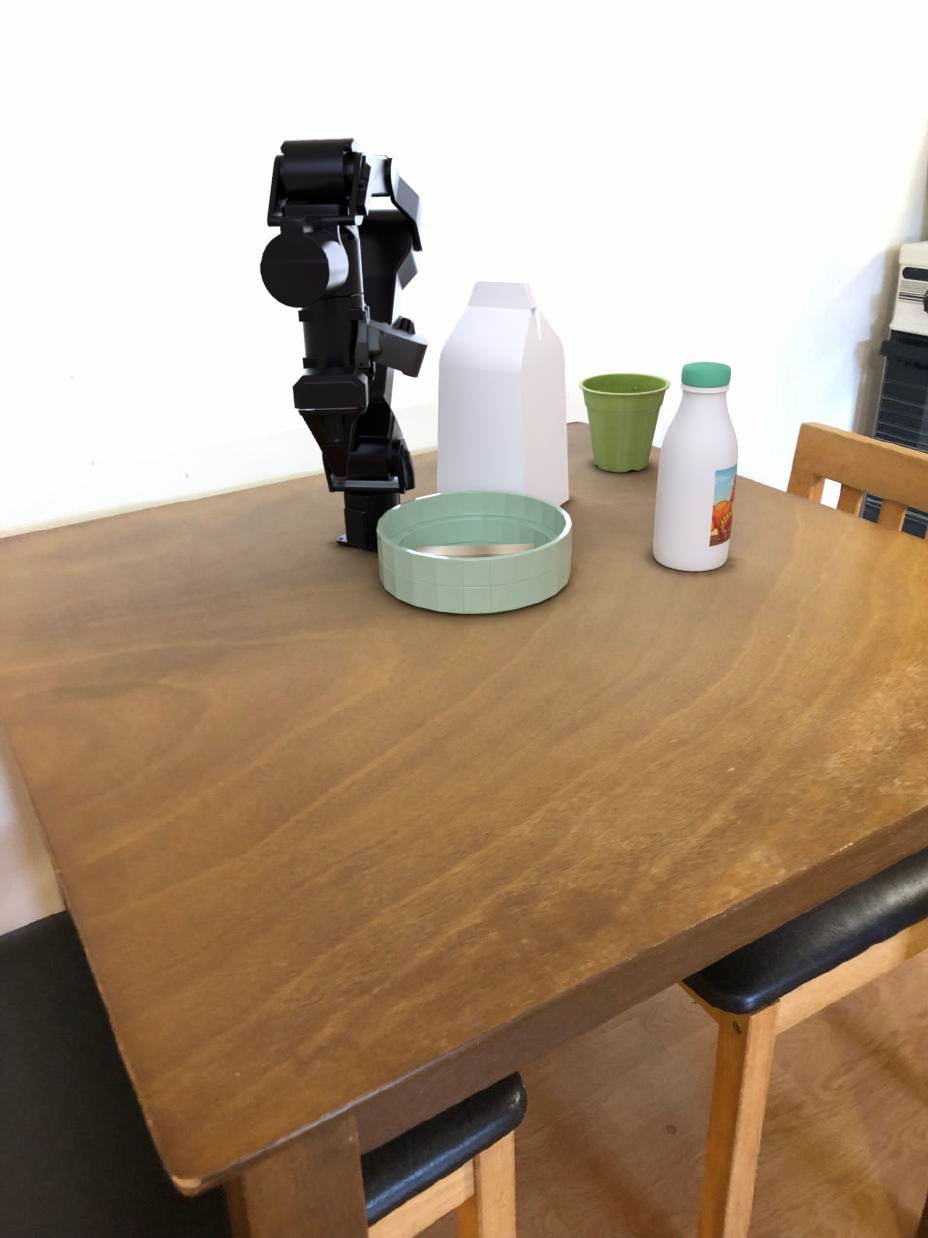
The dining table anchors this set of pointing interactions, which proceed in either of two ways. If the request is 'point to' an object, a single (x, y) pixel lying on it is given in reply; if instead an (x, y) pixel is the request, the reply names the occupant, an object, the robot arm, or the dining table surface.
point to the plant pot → (623, 417)
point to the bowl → (474, 523)
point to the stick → (475, 550)
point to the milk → (503, 398)
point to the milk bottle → (697, 474)
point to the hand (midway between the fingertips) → (344, 462)
